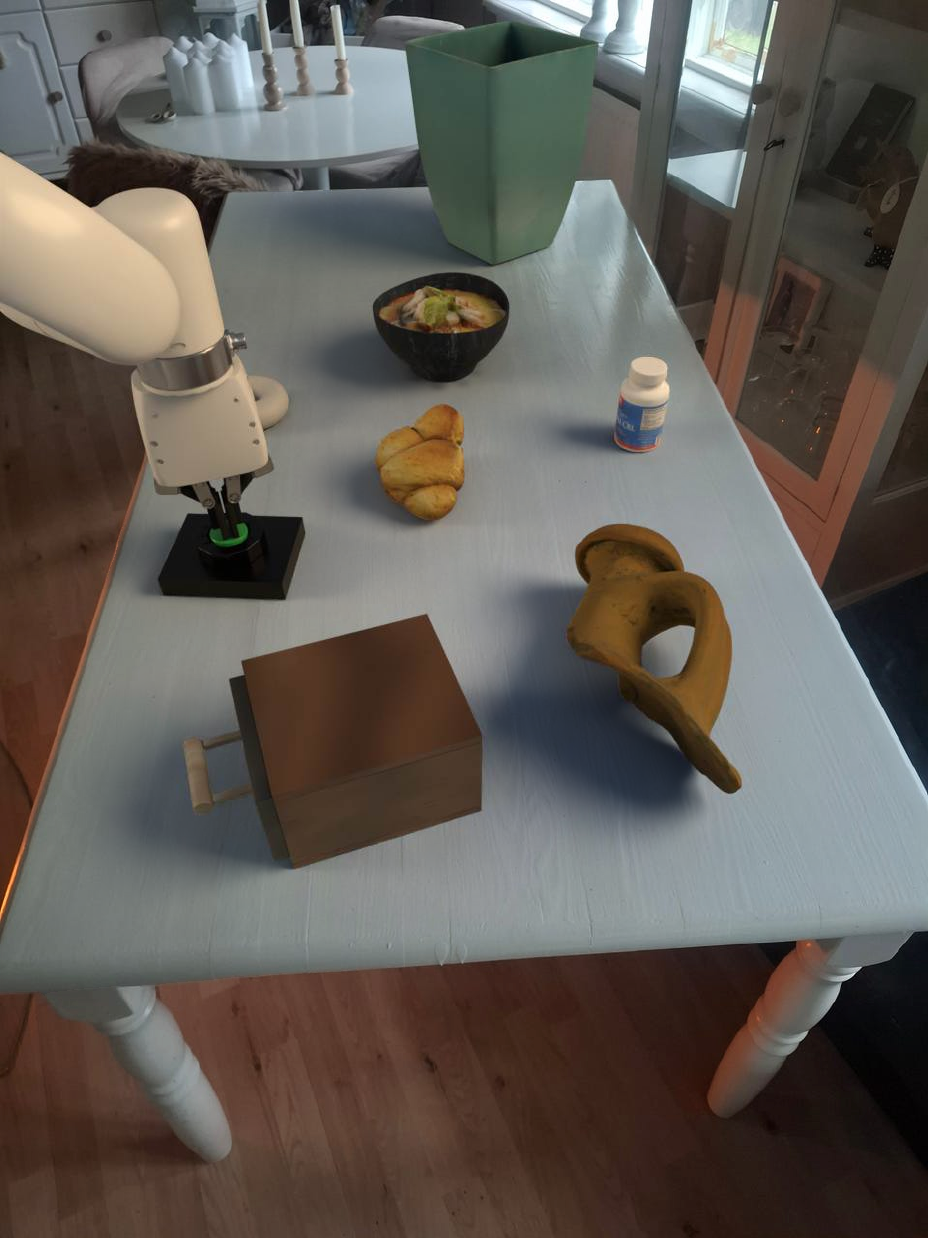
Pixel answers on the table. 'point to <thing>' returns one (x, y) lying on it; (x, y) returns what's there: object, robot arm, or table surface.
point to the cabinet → (364, 738)
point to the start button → (218, 539)
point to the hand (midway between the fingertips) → (229, 530)
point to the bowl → (442, 323)
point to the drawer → (255, 765)
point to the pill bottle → (642, 405)
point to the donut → (269, 399)
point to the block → (234, 559)
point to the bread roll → (424, 463)
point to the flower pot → (501, 131)
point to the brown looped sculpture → (641, 609)
